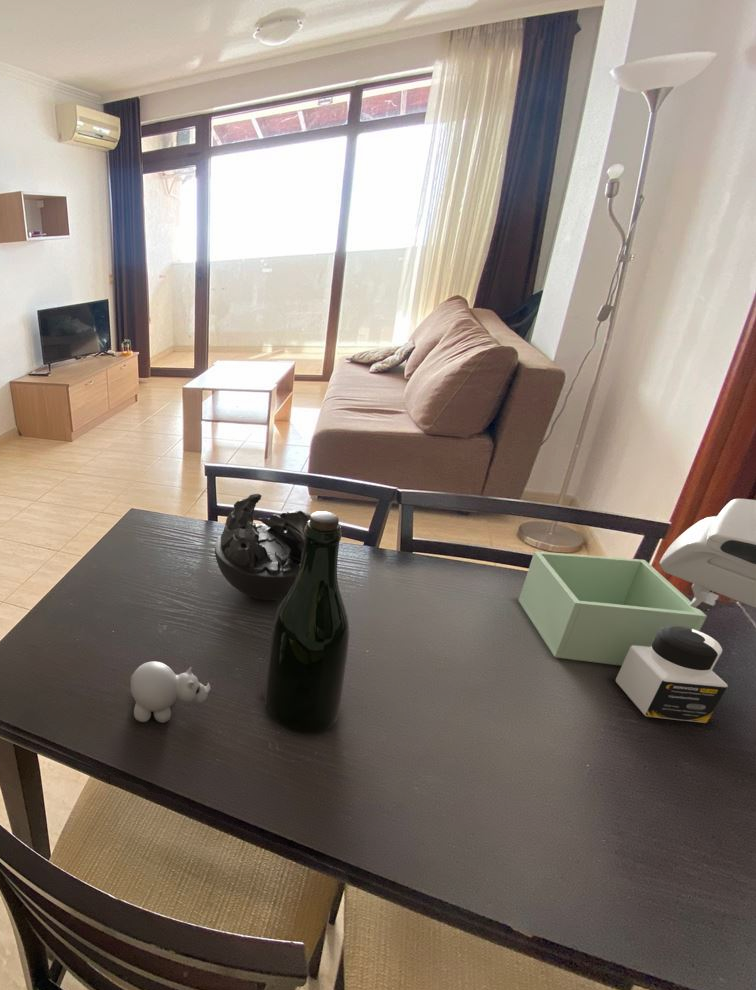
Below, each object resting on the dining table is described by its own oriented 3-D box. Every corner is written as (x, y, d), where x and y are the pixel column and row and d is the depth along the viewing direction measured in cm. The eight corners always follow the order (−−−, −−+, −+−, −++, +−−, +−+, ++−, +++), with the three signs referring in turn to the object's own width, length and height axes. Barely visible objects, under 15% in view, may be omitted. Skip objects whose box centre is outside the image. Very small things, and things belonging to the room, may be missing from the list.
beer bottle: (350, 706, 81) (385, 512, 67) (317, 749, 75) (348, 545, 61) (285, 673, 88) (305, 491, 74) (251, 709, 82) (265, 519, 68)
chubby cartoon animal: (211, 731, 79) (213, 688, 75) (130, 727, 81) (127, 684, 77) (208, 694, 85) (209, 653, 82) (133, 691, 87) (130, 650, 83)
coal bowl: (320, 628, 97) (332, 538, 89) (208, 614, 103) (210, 528, 95) (314, 569, 114) (324, 489, 106) (218, 560, 120) (220, 483, 112)
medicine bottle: (644, 717, 76) (678, 651, 70) (613, 680, 82) (642, 617, 77) (708, 724, 74) (747, 657, 69) (671, 686, 80) (704, 621, 75)
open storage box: (622, 611, 95) (644, 559, 91) (678, 673, 82) (707, 616, 78) (518, 600, 100) (534, 551, 96) (554, 657, 87) (575, 603, 82)
